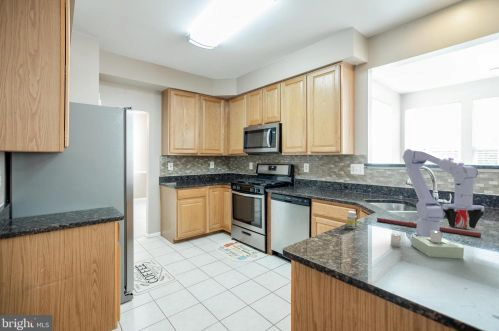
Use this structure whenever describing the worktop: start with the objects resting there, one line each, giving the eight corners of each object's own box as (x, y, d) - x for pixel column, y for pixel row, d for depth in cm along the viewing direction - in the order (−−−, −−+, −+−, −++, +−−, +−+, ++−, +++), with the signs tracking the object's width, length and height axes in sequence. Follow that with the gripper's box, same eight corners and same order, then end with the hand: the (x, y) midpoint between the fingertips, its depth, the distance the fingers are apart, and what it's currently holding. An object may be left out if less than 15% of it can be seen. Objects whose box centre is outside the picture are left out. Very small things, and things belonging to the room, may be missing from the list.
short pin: (389, 243, 106) (389, 233, 106) (398, 243, 106) (398, 233, 105) (393, 246, 102) (393, 235, 102) (402, 246, 102) (402, 236, 102)
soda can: (466, 229, 130) (467, 207, 129) (449, 226, 135) (450, 205, 135) (468, 227, 134) (469, 206, 134) (451, 224, 140) (452, 204, 139)
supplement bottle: (354, 226, 133) (354, 210, 132) (358, 228, 128) (358, 212, 128) (345, 226, 132) (345, 210, 132) (349, 228, 128) (349, 212, 127)
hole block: (411, 245, 104) (412, 236, 104) (441, 247, 103) (442, 237, 103) (428, 256, 92) (429, 246, 92) (463, 258, 91) (463, 248, 91)
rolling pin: (376, 222, 143) (376, 217, 143) (377, 221, 145) (377, 216, 145) (481, 238, 116) (481, 232, 116) (479, 237, 119) (480, 230, 118)
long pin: (427, 249, 99) (428, 230, 99) (436, 249, 99) (437, 230, 99) (434, 252, 96) (435, 233, 96) (443, 253, 96) (444, 233, 96)
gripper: (451, 195, 96) (449, 229, 97) (491, 196, 94) (489, 231, 95) (439, 192, 103) (438, 224, 104) (476, 194, 101) (475, 226, 102)
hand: (461, 227), depth 100 cm, fingers open, 7 cm apart
